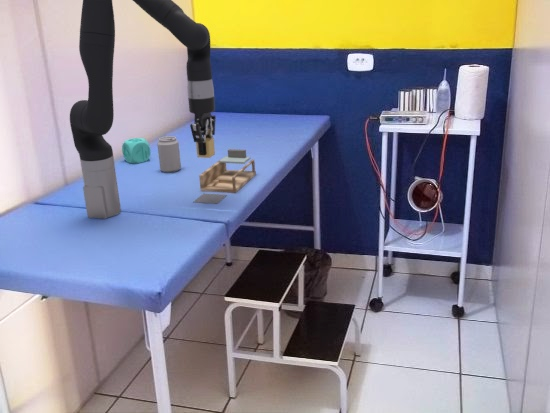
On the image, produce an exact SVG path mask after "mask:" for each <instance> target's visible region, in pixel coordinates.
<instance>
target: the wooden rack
mask: <svg viewBox="0 0 550 413" xmlns="http://www.w3.org/2000/svg"><path fill="white" fill-rule="evenodd" d="M223 158H224V157H222V158H221V159H223ZM221 159H219V160H218V161H216V162H215V163H214V164H213V165H211V166H209V168H207V169H206V170H204V171H203V172H201V174H199V175H198V177H199V186H200V188H199V189H200V191H201V192H210V193H214V192H215V193H228V194H229V193H231V194H237V192H239V190H241V189H242V188H243V187H244V186H245V185H246V184H247V183H248V182H250V180H251V179H253V178H254V177H255V176H256V174H257V171H256V168H255V167H256V166H255V165H256V164H255V163H256V162H255V159H250V160H249V162H248V163H247V164H245V165H244V166H243V167H241V169H239V170H236V169H227V163H219V161H220V160H221ZM249 166H251V170H246V169H247V168H249Z"/></svg>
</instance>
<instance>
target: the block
mask: <svg viewBox="0 0 550 413" xmlns="http://www.w3.org/2000/svg"><path fill="white" fill-rule="evenodd" d="M205 143H206V152H207V154H206V155H199V149H198V143H197V142H195V146H196V156H197V158H204V159H206V158H207V159H208V158H209V159H211V158H212V157H214V156H215V154H216V151H215V150H216V149H215V139H214V137H213V138H206V142H205Z"/></svg>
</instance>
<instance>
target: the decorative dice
mask: <svg viewBox="0 0 550 413" xmlns="http://www.w3.org/2000/svg"><path fill="white" fill-rule="evenodd" d="M121 147H122V148H121V152H122V155H123V156H122V157H123V158H124V160H125V162H127V163H129V164H142V163H145V162H147V161H148V160H149V159H150V158H151V152H152V151H151V147H150V144H149V142H148V140H147V139H146V138H143V137H136V138H135V137H133V138H129V139H125V141H124V142H123V143H122V145H121Z"/></svg>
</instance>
